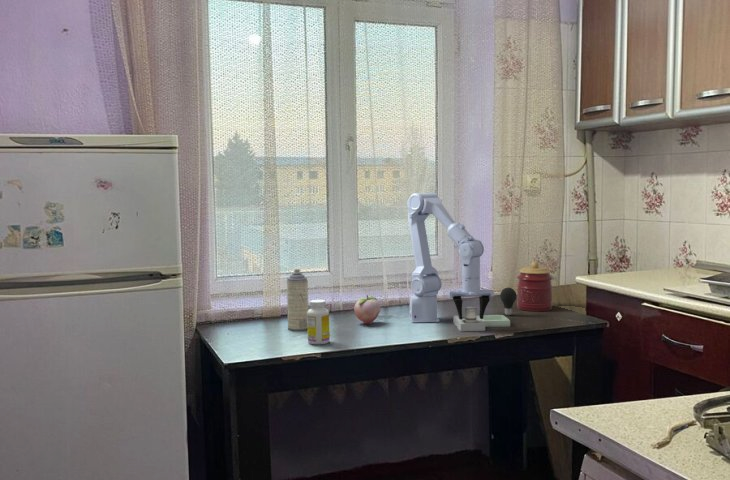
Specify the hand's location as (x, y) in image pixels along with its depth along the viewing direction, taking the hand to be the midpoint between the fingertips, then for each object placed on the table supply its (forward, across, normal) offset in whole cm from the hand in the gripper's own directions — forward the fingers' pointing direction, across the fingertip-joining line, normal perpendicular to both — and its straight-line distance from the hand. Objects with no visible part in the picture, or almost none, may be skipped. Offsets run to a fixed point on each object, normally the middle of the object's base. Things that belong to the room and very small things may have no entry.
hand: (470, 318), depth 229 cm
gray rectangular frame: (+3, 0, +3) cm, 5 cm away
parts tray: (+3, +9, +7) cm, 12 cm away
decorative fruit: (+4, -34, +11) cm, 35 cm away
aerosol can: (+4, -56, +6) cm, 57 cm away
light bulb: (+4, +18, +20) cm, 27 cm away
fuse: (+3, 0, 0) cm, 3 cm away
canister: (+4, +30, +31) cm, 44 cm away
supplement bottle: (+4, -50, -13) cm, 51 cm away
